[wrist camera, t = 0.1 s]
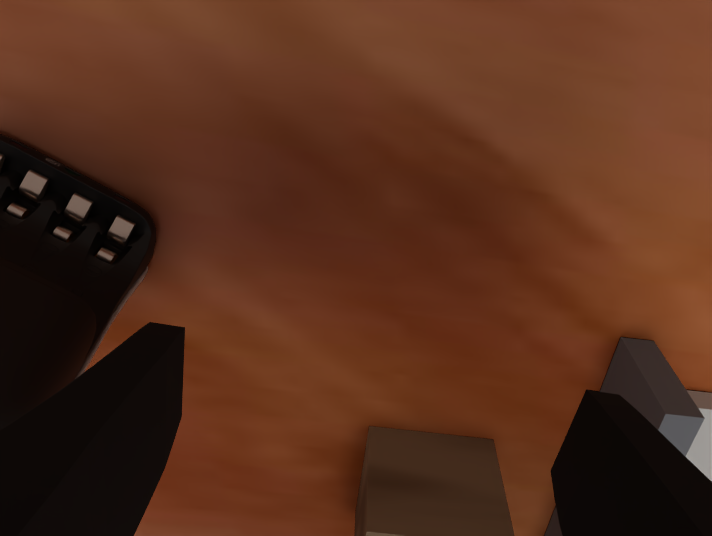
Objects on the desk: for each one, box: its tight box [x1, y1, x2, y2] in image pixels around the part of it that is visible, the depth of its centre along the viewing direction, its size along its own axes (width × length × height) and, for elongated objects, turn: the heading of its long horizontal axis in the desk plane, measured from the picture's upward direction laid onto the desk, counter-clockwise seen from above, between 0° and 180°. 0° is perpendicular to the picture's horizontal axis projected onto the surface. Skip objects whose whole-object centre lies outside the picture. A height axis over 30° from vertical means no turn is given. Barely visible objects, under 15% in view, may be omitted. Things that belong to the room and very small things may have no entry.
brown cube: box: [354, 426, 514, 536], centre depth 24 cm, size 5×5×5 cm
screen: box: [544, 337, 705, 536], centre depth 24 cm, size 16×1×4 cm, turn 174°
